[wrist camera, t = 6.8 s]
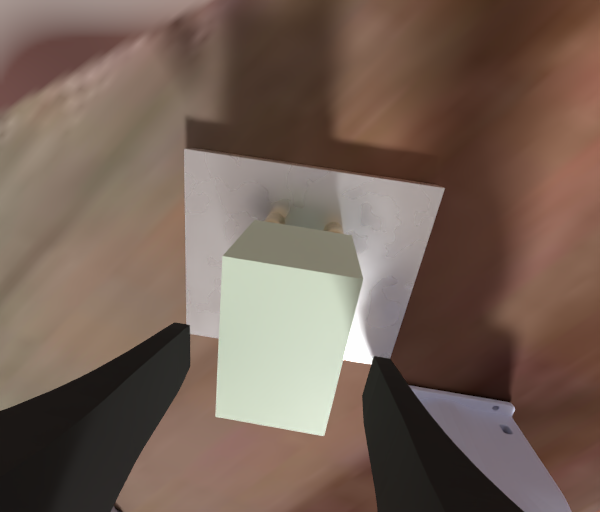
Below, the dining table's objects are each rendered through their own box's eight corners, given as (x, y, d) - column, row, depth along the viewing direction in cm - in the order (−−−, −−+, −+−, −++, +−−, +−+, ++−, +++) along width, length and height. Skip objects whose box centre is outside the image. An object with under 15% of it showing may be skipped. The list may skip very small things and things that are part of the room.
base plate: (435, 184, 18) (469, 198, 14) (383, 352, 23) (396, 400, 19) (195, 148, 18) (155, 150, 14) (195, 321, 23) (166, 361, 19)
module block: (351, 235, 15) (363, 279, 10) (324, 359, 18) (324, 435, 13) (254, 219, 15) (222, 256, 10) (244, 345, 18) (215, 416, 13)
